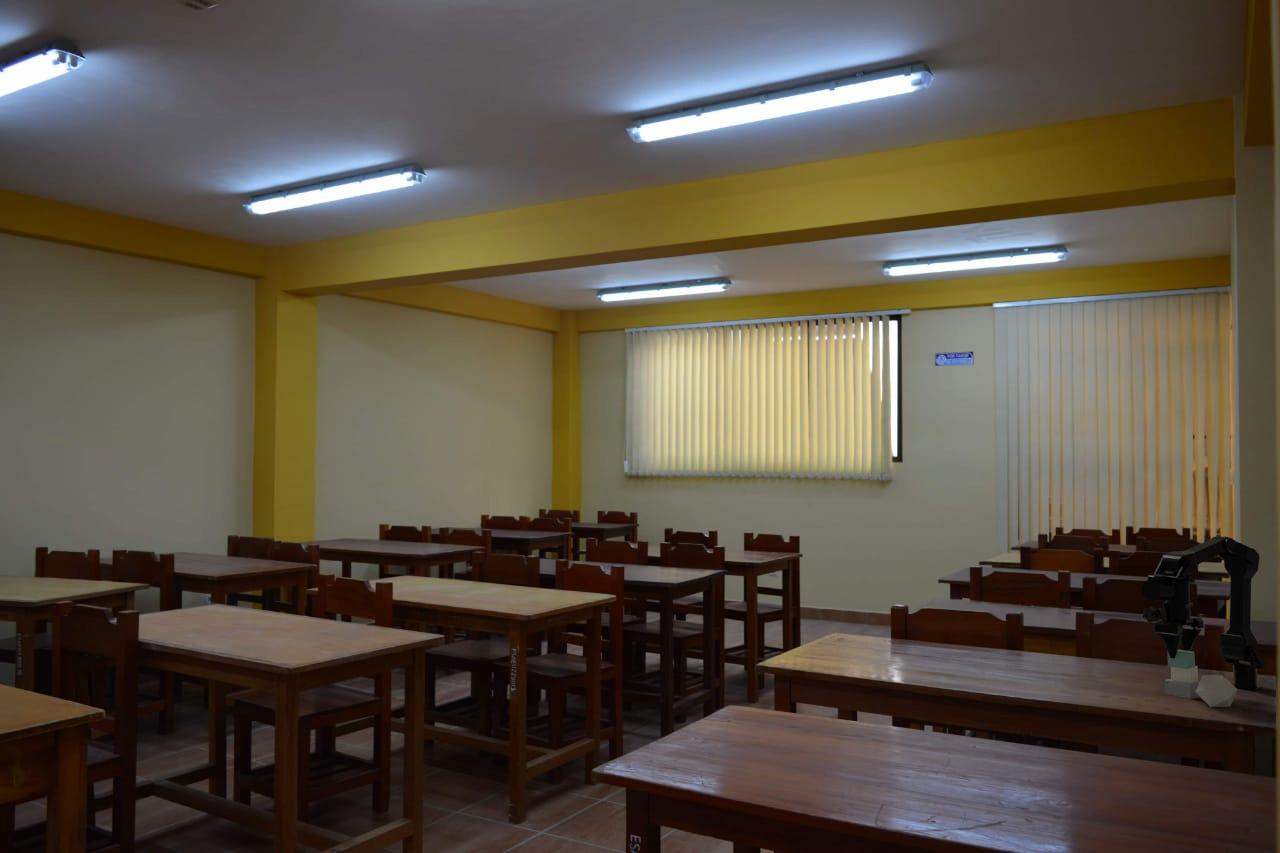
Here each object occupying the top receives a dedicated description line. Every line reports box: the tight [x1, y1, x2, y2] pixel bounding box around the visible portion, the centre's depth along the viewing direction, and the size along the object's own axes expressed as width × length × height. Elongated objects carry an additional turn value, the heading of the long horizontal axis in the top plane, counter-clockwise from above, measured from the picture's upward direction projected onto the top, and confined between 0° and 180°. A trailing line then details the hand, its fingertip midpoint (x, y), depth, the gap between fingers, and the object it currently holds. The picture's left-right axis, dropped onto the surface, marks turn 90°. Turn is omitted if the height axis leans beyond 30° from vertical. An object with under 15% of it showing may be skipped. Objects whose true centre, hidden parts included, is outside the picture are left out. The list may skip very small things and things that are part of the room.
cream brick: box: [1170, 665, 1199, 684], centre depth 254 cm, size 5×5×4 cm
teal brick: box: [1167, 649, 1196, 669], centre depth 254 cm, size 5×5×4 cm
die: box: [1196, 674, 1239, 708], centre depth 242 cm, size 8×9×10 cm
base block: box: [1164, 678, 1201, 700], centre depth 254 cm, size 7×7×4 cm
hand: (1179, 656), depth 255 cm, fingers open, 9 cm apart
